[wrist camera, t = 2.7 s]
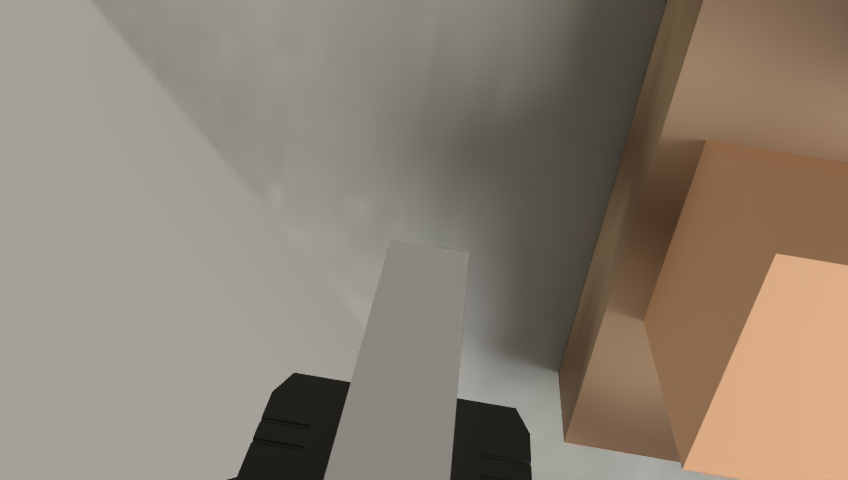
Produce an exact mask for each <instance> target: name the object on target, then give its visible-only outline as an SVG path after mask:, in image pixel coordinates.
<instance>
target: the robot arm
mask: <svg viewBox="0 0 848 480" xmlns="http://www.w3.org/2000/svg"><path fill="white" fill-rule="evenodd" d="M468 261H469V252H463V251H457V250H451V249H445V248H439V247H433V246H427V245H421V244H415V243H409V242H403V241H397V240H391V241H390V244H389V248H388V252H387V255H386V259H385V262H384V266H383V269H382V273H381V276H380V280H379V284H378V287H377V291H376V294H375V298H374V301H373V305H372V309H371V312H370V316H369V319H368V323H367V326H366V330H365V334H364V337H363V341H362V344H361V348H360V351H359V355H358V359H357V362H356V366H355V369H354V373H353V376H352V380H351V382H346V381H340V380H333V379H328V378H322V377H316V376H310V375H304V374H299V373H293V374H292V375H291V376H290V377H289V378H288V379H287V380H285V381H284V382H283V383H282V384H281V385H280V386H279V387H277V388H276V389H275V390H274V391H273V392H272V394H271V396H270V399H269V401H268V404H267V406H266V408H265V411H264V413H263V416H262V420H261V422H260V423H259V425H258V428H257V430H256V432H255V435H254V437H253V442H252V443H251V444H250V447H249V449H248V452H247V454H246V456H245V459H244V461H243V464H242V466H241V469H240V471H239V473H238V476H237V477H236V478H232V479H228V480H532V474H531V466H530V463H531V450H530V433H529V431H528V430H527V428H526V426H525V424H524V422H523V421H522V419H521V417H520V415H519V413H518V412H517V410H516V408H511V407H505V406H499V405H493V404H487V403H481V402H475V401H470V400H464V399H458V398H457V391H458V380H459V368H460V356H461V344H462V332H463V320H464V309H465V297H466V285H467V273H468Z"/></svg>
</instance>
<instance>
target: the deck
mask: <svg viewBox="0 0 848 480" xmlns="http://www.w3.org/2000/svg"><path fill="white" fill-rule="evenodd" d="M706 140H712V141H718V142H724V143H730V144H736V145H742V146H748V147H755V148H761V149H767V150H773V151H779V152H785V153H791V154H797V155H803V156H809V157H815V158H821V159H827V160H834V161H840V162H846V163H848V0H667V3H666V7H665V10H664V13H663V17H662V20H661V24H660V27H659V31H658V34H657V38H656V41H655V44H654V48H653V51H652V55H651V58H650V62H649V65H648V68H647V72H646V75H645V79H644V82H643V86H642V89H641V92H640V96H639V99H638V103H637V106H636V110H635V113H634V116H633V120H632V123H631V127H630V130H629V134H628V137H627V140H626V144H625V147H624V151H623V154H622V158H621V161H620V165H619V168H618V171H617V175H616V178H615V182H614V185H613V189H612V192H611V195H610V199H609V202H608V206H607V209H606V213H605V216H604V219H603V223H602V226H601V230H600V233H599V237H598V240H597V243H596V247H595V250H594V254H593V257H592V261H591V264H590V267H589V271H588V274H587V278H586V281H585V285H584V288H583V291H582V295H581V298H580V302H579V305H578V309H577V312H576V316H575V319H574V322H573V326H572V329H571V333H570V336H569V340H568V343H567V346H566V350H565V353H564V357H563V360H562V364H561V367H560V370H559V374H558V375H559V387H560V398H561V410H562V422H563V434H564V442H567V443H573V444H579V445H585V446H590V447H596V448H602V449H608V450H613V451H619V452H625V453H631V454H636V455H642V456H648V457H654V458H659V459H665V460H671V461H677V462H680V458H679V455H678V451H677V447H676V443H675V439H674V436H673V432H672V428H671V424H670V420H669V417H668V413H667V409H666V405H665V401H664V398H663V394H662V390H661V386H660V383H659V379H658V375H657V371H656V367H655V364H654V360H653V356H652V352H651V348H650V345H649V341H648V337H647V333H646V329H645V326H644V322H643V320H644V318H645V315H646V312H647V309H648V306H649V303H650V300H651V298H652V295H653V292H654V289H655V286H656V283H657V280H658V278H659V275H660V272H661V269H662V266H663V263H664V260H665V257H666V255H667V252H668V249H669V246H670V243H671V240H672V237H673V235H674V232H675V229H676V226H677V223H678V220H679V217H680V214H681V212H682V209H683V206H684V203H685V200H686V197H687V194H688V192H689V189H690V186H691V183H692V180H693V177H694V174H695V172H696V169H697V166H698V163H699V160H700V157H701V154H702V151H703V149H704V146H705V143H706Z"/></svg>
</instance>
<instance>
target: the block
mask: <svg viewBox="0 0 848 480" xmlns="http://www.w3.org/2000/svg"><path fill="white" fill-rule="evenodd" d="M643 322H644V326H645V329H646V333H647V337H648V341H649V345H650V348H651V352H652V356H653V360H654V364H655V367H656V371H657V375H658V379H659V383H660V386H661V390H662V394H663V398H664V401H665V405H666V409H667V413H668V417H669V420H670V424H671V428H672V432H673V436H674V439H675V443H676V447H677V451H678V455H679V458H680V462H681V466H682V469H684V470H690V471H696V472H701V473H707V474H713V475H719V476H724V477H730V478H736V479H742V480H848V163H846V162H840V161H834V160H827V159H821V158H815V157H809V156H803V155H797V154H791V153H785V152H779V151H773V150H767V149H761V148H755V147H748V146H742V145H736V144H730V143H724V142H718V141H712V140H706V143H705V146H704V149H703V151H702V154H701V157H700V160H699V163H698V166H697V169H696V172H695V174H694V177H693V180H692V183H691V186H690V189H689V192H688V194H687V197H686V200H685V203H684V206H683V209H682V212H681V214H680V217H679V220H678V223H677V226H676V229H675V232H674V235H673V237H672V240H671V243H670V246H669V249H668V252H667V255H666V257H665V260H664V263H663V266H662V269H661V272H660V275H659V278H658V280H657V283H656V286H655V289H654V292H653V295H652V298H651V300H650V303H649V306H648V309H647V312H646V315H645V318H644V320H643Z"/></svg>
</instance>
